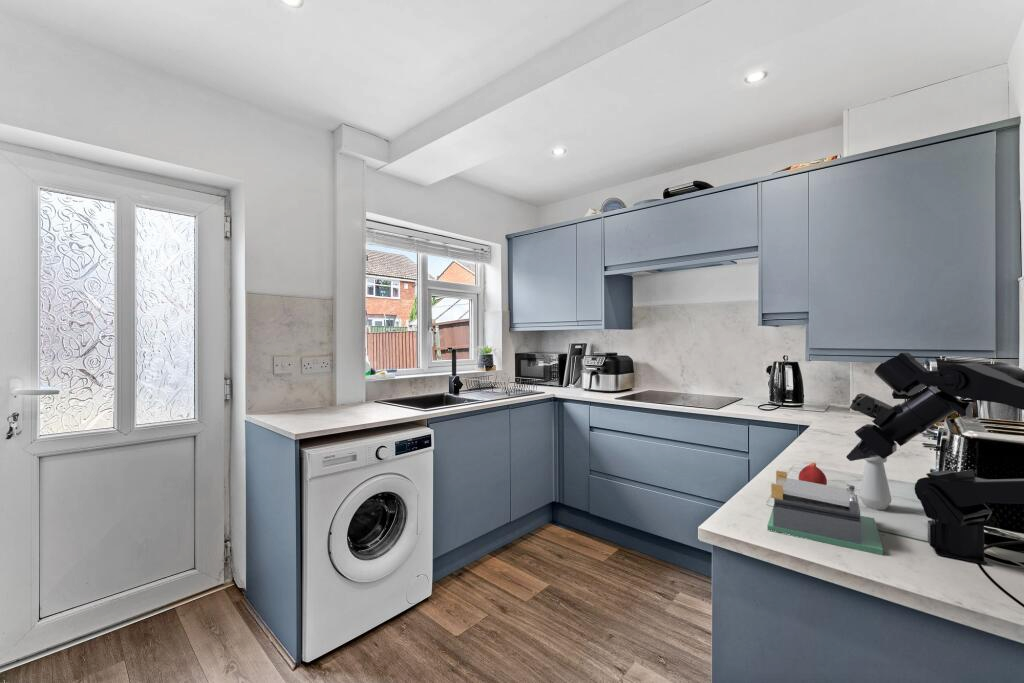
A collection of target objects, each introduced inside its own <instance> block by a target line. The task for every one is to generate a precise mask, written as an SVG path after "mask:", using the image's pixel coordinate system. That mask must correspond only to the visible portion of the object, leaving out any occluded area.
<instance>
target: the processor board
mask: <svg viewBox="0 0 1024 683" xmlns="http://www.w3.org/2000/svg"><path fill="white" fill-rule="evenodd" d="M771 510H772V511H771V513H770V516H769V520H768V523H767V531H768V530H772V531H771V532H773V531H776V532H775V533H777V532H781V533H780V534H782V533H786V534H785V535H787V534H790V535H789V536H791V535H794V536H793V537H796V536H798V537H797V538H801V537H802V538H801V539H805V538H807V539H806V540H810V539H811V540H812V541H815V540H816V542H819V541H820V543H825V544H828V543H829V544H830V545H834V546H840V547H843V548H847V549H852V550H856V551H862V552H866V553H871V554H876V555H879V556H880V555H881V556H883V555H884V548H883V544H882V542H881V539H880V534H879V531H878V527H877V523H876V520H875V518H874V517H870V516H865V515H860V519H861V544H856V543H852V542H847V541H842V540H837V539H832V538H828V537H823V536H818V535H813V534H808V533H804V532H799V531H794V530H789V529H784V528H780V527H775V526H773V508H772V509H771ZM829 544H828V545H829Z"/></svg>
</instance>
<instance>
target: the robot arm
mask: <svg viewBox="0 0 1024 683" xmlns="http://www.w3.org/2000/svg"><path fill="white" fill-rule="evenodd" d="M874 374H875V375H876V376H877V377H878V378H879V379H880V380H881V381H882V382H884V384H886V385H887V386H888V387H890V389H891V390H893V391H894V392H895V393H896V394H897V395H906V396H911V397H909V398H908V399H907V400H905V401H904V402H902V403H898V404H896V405H894V406H892V405H890V404H888V403H886V402H883V401H882V400H879V399H878V398H877V399H876V397H872V396H870V395H868V394H865V393H858V394H856V396H855V397H854V399H852V400H851V402H852V403H850V406H849V409H850V410H852V411H855V412H859V413H861V414H863V415H866V416H867V417H870V418H872V419H873V420H871V422H872V423H873V424H870V423H869V424H868V423H867V424H864V425H863V426H861V427H860V428H858V429H856V430H855V431H854V434H855V435H856V436H857V437H858V438H859V439H860V441H859V442H858V443H857V444H856V446H854V447H853V449H851V450H850V452H849V453H848V454H847V455H846V457H845V458H846V459H847V460H848V461H849V462H854V461H859V460H864V459H865V458H871V457H878V456H880V457H881V458H883V459H885V458H886V457H887V458H888V457H890V456H891V455H893V454H894V453H895V452H897V451H898V450H897V447H898V446H897V445H899V447H902V446H904V445H905V444H907V443H908V442H909V441H911V440H912V439H913V438H915V437H917V436H919V435H920V434H922V433H924V432H925V431H927V430H928V429H929V428H931V427H933V426H934V425H937V423H939V422H941V421H943V420H945V419H946V418H947V417H949V416H951V415H952V414H954V413H957V414H958V415H959V416H961V417H964V418H968V419H972V418H973V407H974V403H972V402H970V401H962V400H961V399H960V398H963V399H967V400H974V401H981V402H989V403H994V404H995V403H996V404H1001V405H1006V406H1008V407H1013V408H1016V409H1019V410H1022V411H1024V382H1022V381H1020V380H1018V379H1015V378H1013V377H1012V376H1010V375H1009V374H1006V373H1004V372H1002V371H999V370H997V369H995V368H993V367H990V366H987V365H985V364H981V363H977V362H974V363H973V362H971V363H970V362H969V363H950V364H947V365H944V366H943V367H941V369H939V370H938V369H937V370H929V369H928V368H926V366H924V365H923V364H921V363H920V362H918V360H917V359H915V357H914V356H913V355H912V354H911V353H910V352H900V353H899V354H898V355H897V356H894V357H891V358H889V359H888V360H886V361H885V362H881V363H880V364H879V365H877V367H876V368H875V370H874ZM925 475H926V477H921V478H918V479H917V481H916V482H915V483H914V489H913V490H914V494H915V495H916V498H917V499H918V501H920V503H921V506H922V508H923V511H924V513H925V516H926V517H927V518H928V520H927V542H928V544H929V546H930V547H931V548H932V549H933V551H934V553H935V554H936V555H938V556H942V557H948V558H953V559H958V560H962V561H967V562H972V563H978V564H981V563H982V565H988V562H989V561H988V560H987V558H986V557H985V525H984V524H983V522H987V521H989V519H990V517H991V515H992V514H993V511H992V509H991V508H990V507H989V506H988V505H987V504H1004V505H1005V504H1010V505H1011V504H1014V505H1016V504H1017V505H1019V504H1020V505H1021V504H1022V505H1023V504H1024V478H1004V479H1003V478H1001V479H999V478H998V479H992V478H991V479H987V478H982V477H977V476H975V470H974V469H967V470H966V469H965V470H961V471H960V470H959V471H955V470H951V469H946V470H941V471H935V472H928V473H926V474H925Z"/></svg>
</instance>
